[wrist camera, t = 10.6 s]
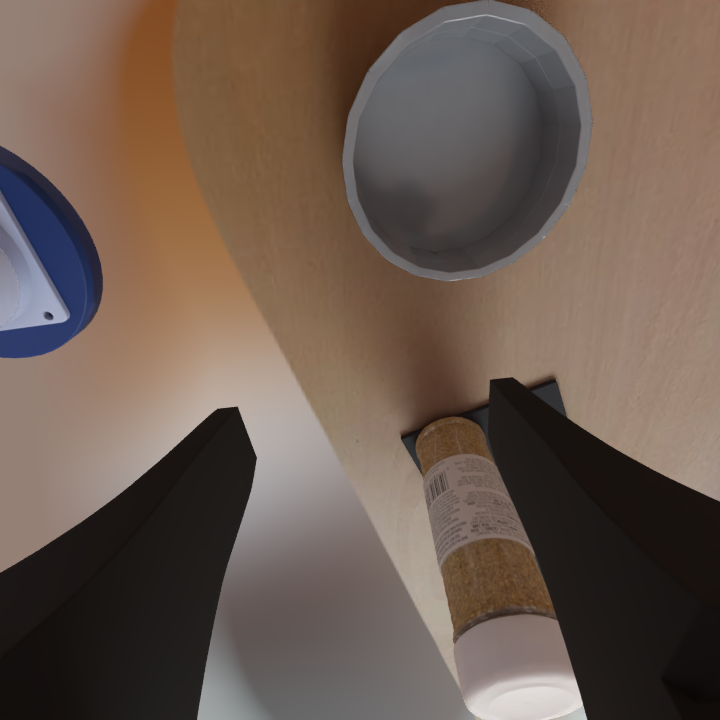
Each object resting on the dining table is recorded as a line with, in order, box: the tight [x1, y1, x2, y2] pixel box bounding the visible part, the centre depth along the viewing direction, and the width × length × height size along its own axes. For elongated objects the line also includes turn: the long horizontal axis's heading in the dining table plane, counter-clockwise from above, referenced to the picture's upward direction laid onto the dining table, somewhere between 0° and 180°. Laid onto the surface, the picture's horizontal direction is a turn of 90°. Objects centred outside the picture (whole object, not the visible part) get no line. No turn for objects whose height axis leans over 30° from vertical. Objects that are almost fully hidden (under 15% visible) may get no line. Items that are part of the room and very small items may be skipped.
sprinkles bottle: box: [416, 417, 583, 720], centre depth 19 cm, size 5×5×13 cm
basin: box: [342, 0, 593, 281], centre depth 15 cm, size 9×9×4 cm
